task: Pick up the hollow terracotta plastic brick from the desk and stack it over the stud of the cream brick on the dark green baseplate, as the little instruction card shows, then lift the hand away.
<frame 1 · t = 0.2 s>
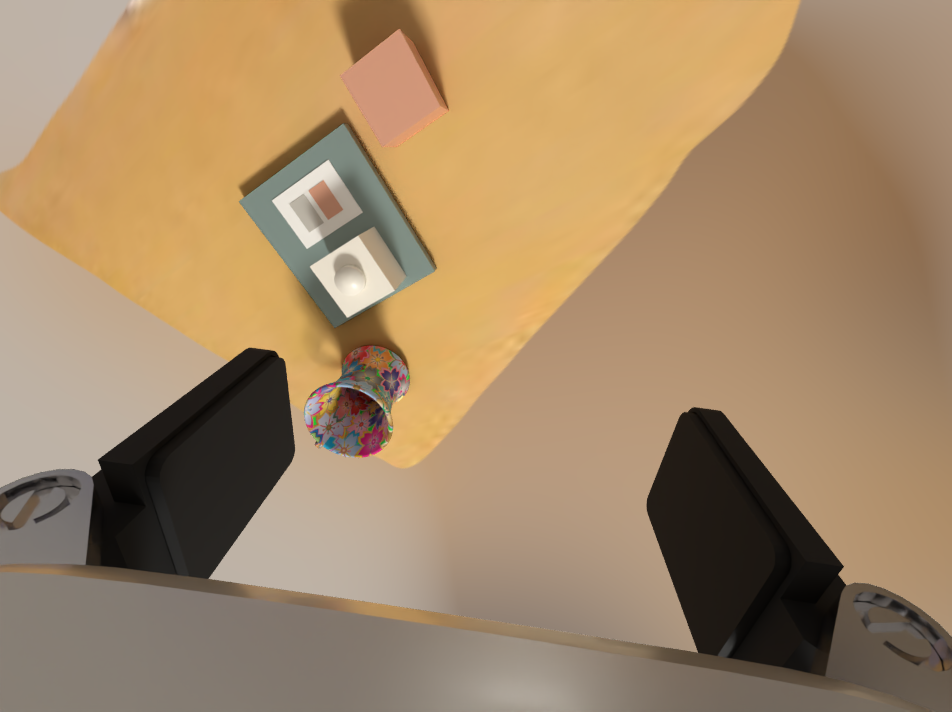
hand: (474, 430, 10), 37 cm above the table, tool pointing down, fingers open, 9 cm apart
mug: (371, 378, 53), on the table
terracotta brick: (404, 97, 39), on the table
baseplate: (342, 234, 45), on the table
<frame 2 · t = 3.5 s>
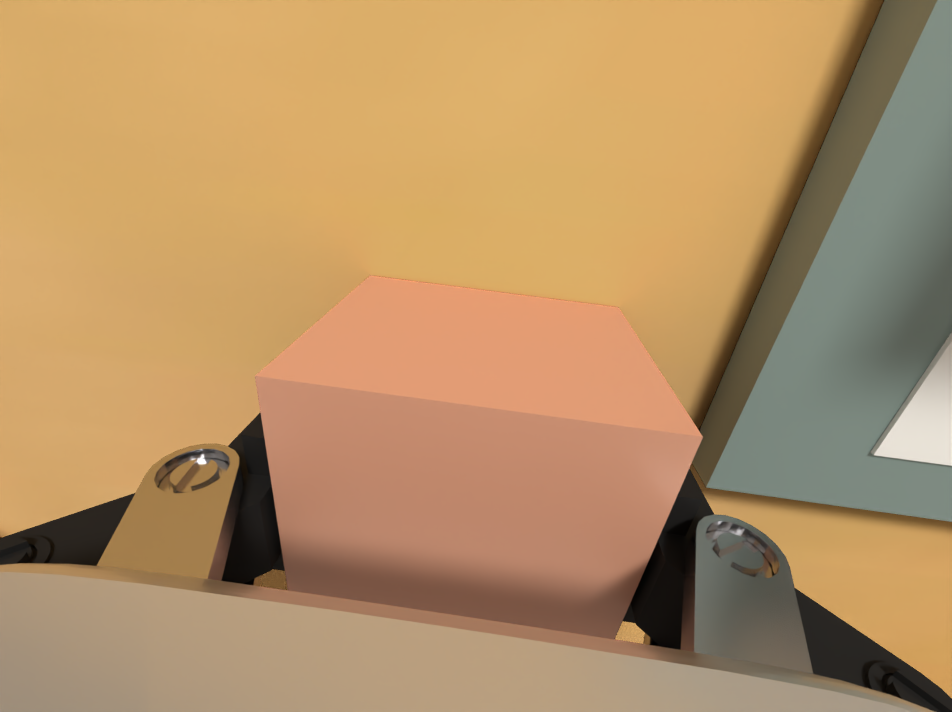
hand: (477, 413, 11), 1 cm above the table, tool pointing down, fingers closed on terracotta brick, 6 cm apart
terracotta brick: (479, 396, 11), on the table, touching gripper
when the fingers open (8 cm above the table, at t = 9.0 s): terracotta brick drops 1 cm, resting on baseplate.
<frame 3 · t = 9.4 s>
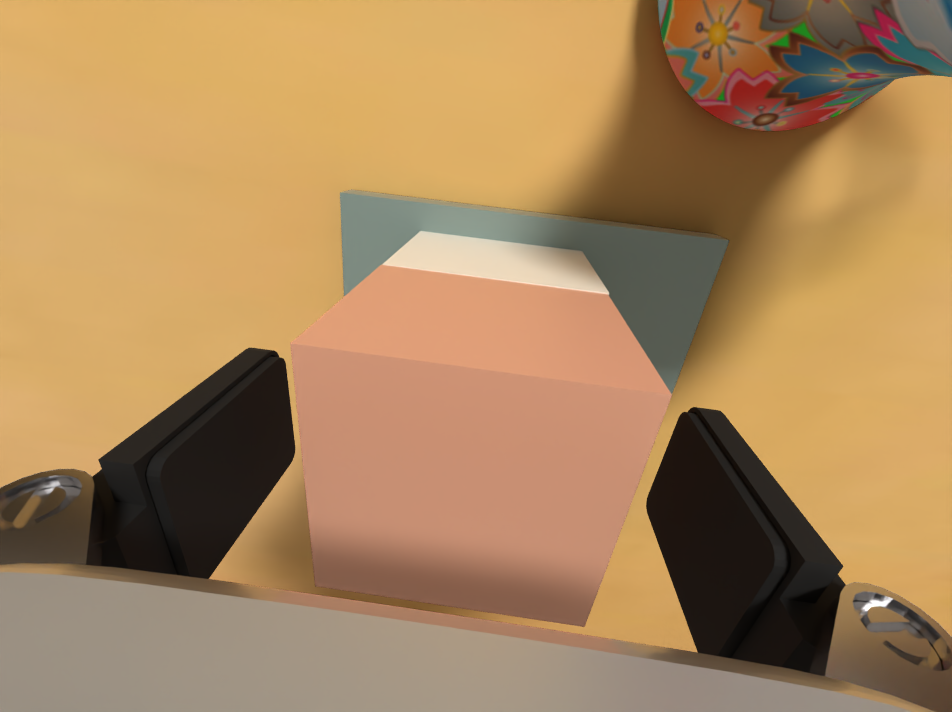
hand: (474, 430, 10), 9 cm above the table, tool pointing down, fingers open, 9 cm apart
terracotta brick: (480, 377, 12), point 6 cm above the table, touching baseplate
baseplate: (503, 389, 20), on the table
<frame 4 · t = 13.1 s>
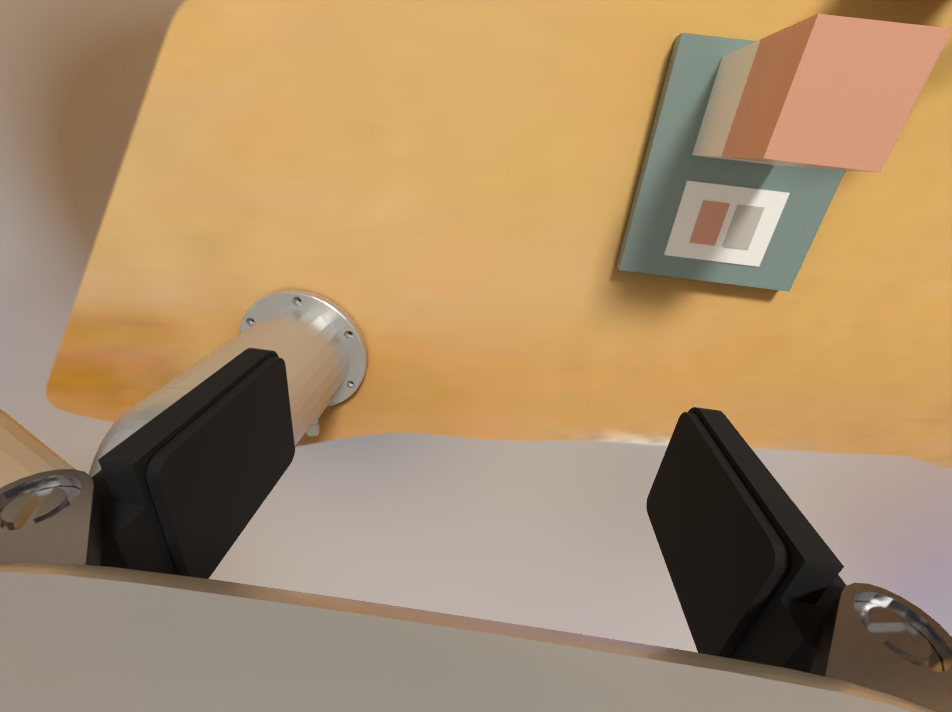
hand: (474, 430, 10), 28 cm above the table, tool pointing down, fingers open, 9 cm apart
terracotta brick: (790, 107, 25), point 6 cm above the table, touching baseplate
baseplate: (733, 175, 32), on the table
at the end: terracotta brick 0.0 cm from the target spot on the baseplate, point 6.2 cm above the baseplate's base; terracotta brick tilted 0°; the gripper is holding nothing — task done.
